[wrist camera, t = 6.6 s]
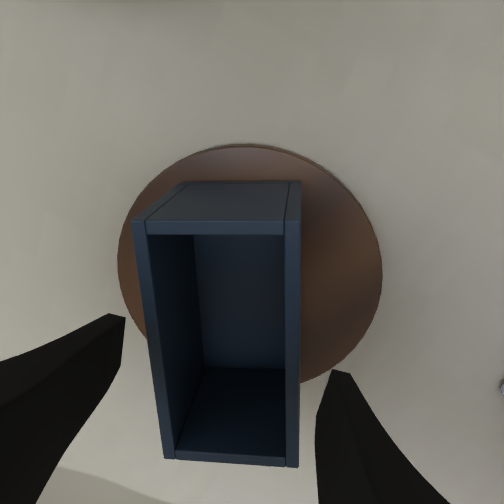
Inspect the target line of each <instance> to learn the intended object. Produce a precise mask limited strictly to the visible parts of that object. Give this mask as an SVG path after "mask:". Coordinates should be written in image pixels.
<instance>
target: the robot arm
mask: <svg viewBox="0 0 504 504" xmlns="http://www.w3.org/2000/svg"><path fill="white" fill-rule="evenodd" d="M125 320H126V317H122V316H118V315H114V314H110V313H108V314H106V315H104V316H102V317H100V318H98V319H96V320H94V321H92V322H90V323H89V324H87V325H85V326H83V327H81V328H79V329H77V330H75V331H73V332H71V333H69V334H67V335H65V336H63V337H61V338H58V339H56V340H54V341H52V342H49V343H47V344H45V345H43V346H40V347H38V348H36V349H34V350H31V351H29V352H26V353H23V354H21V355H18V356H15V357H12V358H9V359H6V360H3V361H0V504H36V502H37V500H38V498H39V496H40V494H41V493H42V491H43V489H44V487H45V485H46V483H47V482H48V480H49V478H50V476H51V475H52V473H53V471H54V469H55V468H56V466H57V464H58V462H59V461H60V459H61V457H62V456H63V454H64V452H65V451H66V449H67V448H68V446H69V445H70V443H71V442H72V441H73V439H74V438H75V436H76V435H77V433H78V432H79V431H80V429H81V428H82V426H83V425H84V424H85V422H86V421H87V419H88V418H89V417H90V415H91V414H92V412H93V411H94V410H95V408H96V407H97V405H98V404H99V402H100V401H101V400H102V398H103V397H104V395H105V394H106V392H107V391H108V389H109V387H110V385H111V383H112V382H113V380H114V378H115V376H116V374H117V372H118V370H119V368H120V366H121V357H122V348H123V338H124V329H125ZM500 390H501V393H502V394H503V396H504V384H503V385H502V386H501V389H500ZM315 459H316V473H317V487H318V500H319V504H450V503H449V502H448V501H447V500H446V499H445V498H444V497H443V496H442V495H440V494H439V493H438V492H437V491H436V490H435V489H434V487H433V486H432V485H431V484H430V483H429V482H428V481H427V480H426V479H425V478H424V477H423V476H422V475H421V474H420V473H419V472H418V471H417V470H416V469H415V467H414V466H413V465H412V464H411V463H410V462H409V460H408V459H407V458H406V457H405V456H404V454H403V453H402V452H401V451H400V450H399V448H398V447H397V446H396V444H395V443H394V442H393V440H392V439H391V438H390V436H389V435H388V434H387V432H386V431H385V429H384V428H383V426H382V425H381V424H380V422H379V421H378V419H377V418H376V416H375V414H374V413H373V411H372V410H371V408H370V406H369V405H368V403H367V401H366V400H365V398H364V396H363V395H362V393H361V391H360V390H359V388H358V386H357V384H356V383H355V381H354V379H353V378H352V376H351V374H350V373H346V372H342V371H338V370H334V369H332V371H331V374H330V377H329V380H328V383H327V386H326V388H325V391H324V394H323V397H322V400H321V403H320V406H319V409H318V412H317V415H316V426H315Z"/></svg>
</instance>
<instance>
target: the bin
mask: <svg viewBox="0 0 504 504" xmlns="http://www.w3.org/2000/svg"><path fill="white" fill-rule="evenodd" d="M301 215H302V181H222V182H180V183H179V184H178V185H177V186H175V187H174V188H173V189H171V190H170V191H169V192H167V193H166V194H165V195H163V196H162V197H161V198H159V199H158V200H157V201H155V202H154V203H153V204H151V205H150V206H149V207H148V208H146V209H145V210H144V211H142V212H141V213H140V214H138V215H137V216H136V217H134V218H133V219H132V220H131V221H130V223H131V230H132V237H133V244H134V251H135V258H136V265H137V272H138V279H139V286H140V293H141V300H142V307H143V314H144V321H145V328H146V335H147V342H148V349H149V356H150V363H151V370H152V378H153V385H154V392H155V399H156V406H157V413H158V420H159V427H160V434H161V441H162V448H163V455H164V458H165V459H177V460H190V461H205V462H219V463H233V464H247V465H261V466H276V467H285V466H286V467H290V468H298V467H299V419H300V336H301Z"/></svg>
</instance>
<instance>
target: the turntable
mask: <svg viewBox="0 0 504 504" xmlns="http://www.w3.org/2000/svg"><path fill="white" fill-rule="evenodd" d="M222 181H302V215H301V336H300V383H303V382H305V381H308V380H310V379H313V378H315V377H317V376H319V375H321V374H322V373H324V372H326V371H328V370H329V369H331V368H332V367H334V366H335V365H336V364H338V363H339V362H340V361H342V360H343V359H344V358H345V357H346V356H347V355H348V354H349V353H350V352H351V351H352V350H353V349H354V348H355V347H356V345H357V344H358V343H359V342H360V340H361V339H362V338H363V336H364V335H365V333H366V331H367V330H368V328H369V326H370V324H371V323H372V320H373V318H374V315H375V312H376V310H377V307H378V303H379V299H380V295H381V287H382V260H381V255H380V250H379V245H378V241H377V238H376V236H375V233H374V230H373V228H372V225H371V223H370V221H369V219H368V218H367V216H366V214H365V212H364V210H363V208H362V207H361V205H360V204H359V202H358V201H357V200H356V198H355V197H354V196H353V194H352V193H351V192H350V191H349V190H348V189H347V188H346V187H345V186H344V185H343V184H342V183H341V182H340V181H339V180H338V179H337V178H336V177H335V176H333V175H332V174H331V173H330V172H328V171H327V170H326V169H324V168H323V167H321V166H320V165H318V164H316V163H314V162H313V161H311V160H309V159H307V158H305V157H303V156H300V155H298V154H295V153H293V152H290V151H288V150H284V149H280V148H276V147H272V146H265V145H257V144H231V145H224V146H218V147H213V148H210V149H206V150H203V151H200V152H197V153H194V154H192V155H190V156H188V157H186V158H184V159H181V160H180V161H178V162H176V163H175V164H173V165H172V166H170V167H169V168H167V169H165V170H164V171H162V172H161V173H160V174H159V175H158V176H157V177H156V178H154V179H153V180H152V181H151V182H150V183H149V184H148V185H147V186H146V188H145V189H144V190H143V191H142V192H141V193H140V195H139V196H138V197H137V199H136V201H135V202H134V204H133V205H132V207H131V209H130V210H129V213H128V215H127V217H126V220H125V222H124V224H123V228H122V232H121V235H120V239H119V247H118V255H117V260H118V276H119V283H120V288H121V291H122V295H123V298H124V301H125V304H126V306H127V308H128V311H129V313H130V315H131V317H132V319H133V320H134V322H135V324H136V325H137V327H138V329H139V330H140V331H141V333H142V334H143V335H144V336H145V338H146V339H147V335H146V328H145V321H144V314H143V307H142V300H141V293H140V286H139V279H138V272H137V265H136V258H135V251H134V244H133V237H132V230H131V223H130V221H131V220H132V219H133V218H134V217H136V216H137V215H138V214H140V213H141V212H142V211H144V210H145V209H146V208H148V207H149V206H150V205H151V204H153V203H154V202H155V201H157V200H158V199H159V198H161V197H162V196H163V195H165V194H166V193H167V192H169V191H170V190H171V189H173V188H174V187H175V186H177V185H178V184H179V183H180V182H222Z"/></svg>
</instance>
